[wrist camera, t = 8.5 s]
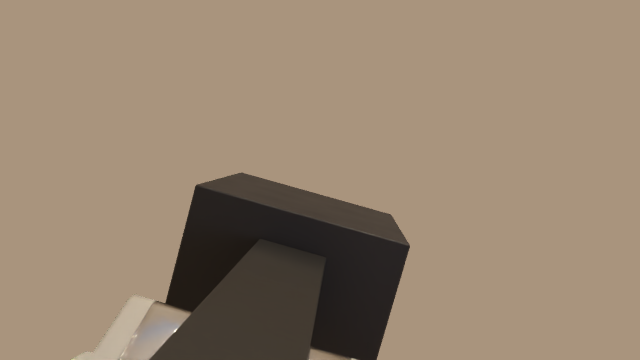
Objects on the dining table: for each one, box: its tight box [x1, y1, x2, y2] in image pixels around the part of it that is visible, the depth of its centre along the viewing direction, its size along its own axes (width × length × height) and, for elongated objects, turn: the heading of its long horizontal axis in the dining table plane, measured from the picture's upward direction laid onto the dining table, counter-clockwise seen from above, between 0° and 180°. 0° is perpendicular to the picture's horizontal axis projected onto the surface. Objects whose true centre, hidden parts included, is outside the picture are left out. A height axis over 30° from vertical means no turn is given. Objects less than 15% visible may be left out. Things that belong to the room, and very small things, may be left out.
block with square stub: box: [149, 173, 410, 360], centre depth 17 cm, size 8×19×5 cm, turn 177°
